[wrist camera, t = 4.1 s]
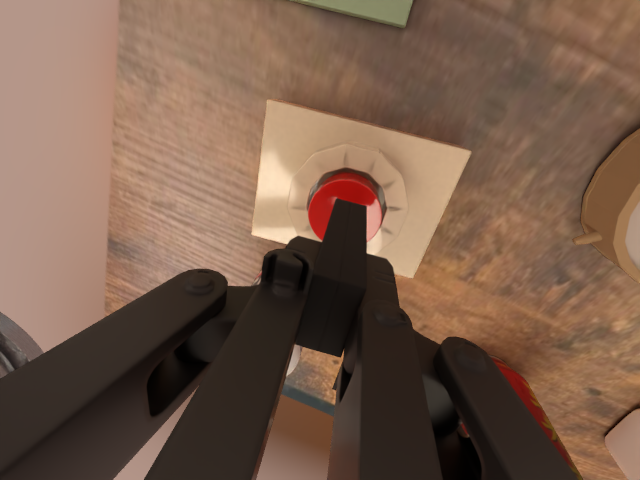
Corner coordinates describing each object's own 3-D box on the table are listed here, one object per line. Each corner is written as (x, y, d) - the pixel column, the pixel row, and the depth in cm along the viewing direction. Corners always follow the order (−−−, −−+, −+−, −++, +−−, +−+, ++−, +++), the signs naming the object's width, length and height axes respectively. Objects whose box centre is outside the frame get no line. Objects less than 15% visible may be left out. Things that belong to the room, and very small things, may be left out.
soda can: (420, 380, 27) (458, 568, 16) (472, 336, 24) (563, 533, 13) (479, 410, 28) (555, 610, 17) (538, 371, 24) (677, 587, 14)
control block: (260, 223, 22) (240, 247, 18) (277, 99, 18) (255, 98, 14) (408, 263, 22) (417, 295, 18) (461, 145, 17) (485, 156, 14)
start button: (307, 226, 18) (301, 238, 16) (321, 164, 16) (316, 171, 14) (368, 243, 17) (369, 257, 16) (390, 182, 16) (392, 191, 14)
